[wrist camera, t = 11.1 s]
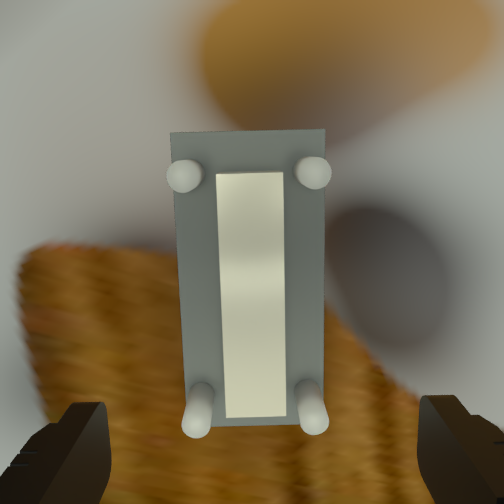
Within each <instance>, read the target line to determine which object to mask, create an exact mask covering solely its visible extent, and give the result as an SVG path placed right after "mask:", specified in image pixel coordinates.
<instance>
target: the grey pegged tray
mask: <svg viewBox="0 0 504 504" xmlns="http://www.w3.org/2000/svg"><path fill="white" fill-rule="evenodd" d="M170 141H171V157H172V164H171V165H170V166H169V168H168V170H167V173H166V180H167V183H168V185H169V186H170V187H171V188H172V189H173V190H174V207H175V225H176V242H177V258H178V275H179V292H180V309H181V326H182V342H183V359H184V376H185V393H186V408H185V412H184V416H183V420H182V429H183V431H184V433H185V434H186V435H187V436H189V437H192V438H201V437H203V436H205V435H206V434H207V433H208V432H209V430H210V427H216V426H253V425H290V424H301V427H302V429H303V430H304V431H305V432H306V433H308V434H311V435H318V434H321V433H323V432H324V431H325V430H326V429H327V427H328V425H329V418H328V415H327V412H326V408H325V405H324V402H323V377H324V250H325V245H324V244H325V186H326V185H327V184H328V183H329V181H330V179H331V175H332V171H331V167H330V165H329V163H328V162H327V161H326V160H325V129H303V130H302V129H301V130H300V129H299V130H260V131H259V130H258V131H219V132H179V133H170ZM272 170H280V171H282V172H283V198H284V278H285V358H286V416H275V417H240V418H226V404H225V380H224V357H223V333H222V309H221V286H220V262H219V239H218V215H217V191H216V174H217V173H218V172H236V171H272Z"/></svg>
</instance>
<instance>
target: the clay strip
mask: <svg viewBox="0 0 504 504" xmlns="http://www.w3.org/2000/svg"><path fill="white" fill-rule="evenodd" d="M216 191H217V215H218V239H219V262H220V286H221V309H222V333H223V357H224V380H225V404H226V418H240V417H275V416H286V358H285V278H284V198H283V172H282V171H280V170H272V171H236V172H218V173H217V174H216Z"/></svg>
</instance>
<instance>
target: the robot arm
mask: <svg viewBox="0 0 504 504" xmlns="http://www.w3.org/2000/svg"><path fill="white" fill-rule="evenodd" d="M417 458H418V465H419V469H420V473H421V476H422V478H423V480H424V482H425V484H426V486H427V488H428V490H429V492H430V494H431V496H432V498H433V500H434V502H435V503H436V504H504V433H503V432H502V431H501V430H500V429H499V428H498V427H497V426H496V425H494V424H492V423H491V422H489V421H488V420H486V419H484V418H483V417H481V416H480V415H470V413H469V412H468V411H467V410H466V408H465V407H464V406H463V405H462V404H461V402H460V401H459V400H458V399H457V397H456V396H454V395H425V396H422V398H421V400H420V408H419V425H418V442H417ZM110 472H111V448H110V438H109V429H108V419H107V410H106V406H105V404H104V403H103V402H74V403H72V404H71V405H70V406H69V408H68V409H67V410H66V412H65V413H64V415H63V416H62V418H61V419H60V420H59V422H58V423H49V424H48V425H46V426H45V427H44V428H42V429H41V430H39V431H38V432H37V433H35V434H34V435H32V436H31V437H30V439H29V440H28V441H27V443H26V444H25V445H24V446H23V448H22V449H21V450H20V454H17V456H16V457H15V458H14V459H13V461H12V462H11V463H10V467H7V469H6V470H5V471H4V472H3V474H2V475H1V476H0V504H99V502H100V500H101V497H102V495H103V493H104V490H105V488H106V486H107V483H108V480H109V477H110Z"/></svg>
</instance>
